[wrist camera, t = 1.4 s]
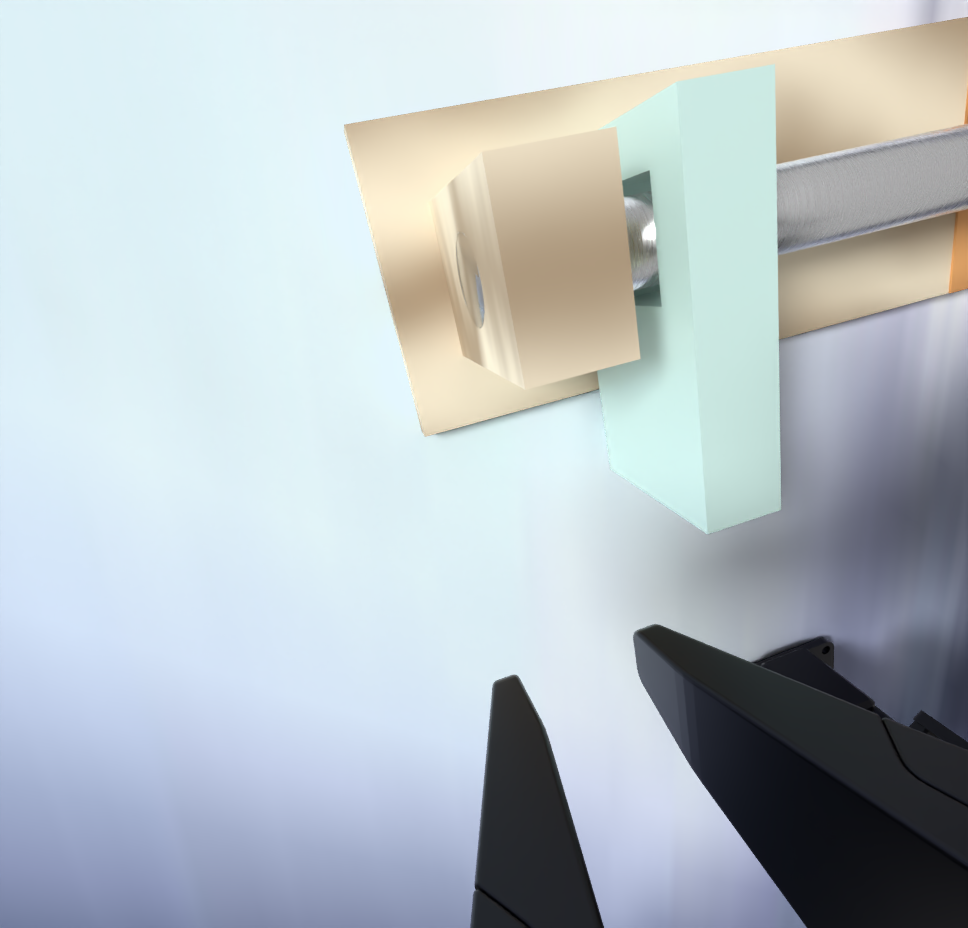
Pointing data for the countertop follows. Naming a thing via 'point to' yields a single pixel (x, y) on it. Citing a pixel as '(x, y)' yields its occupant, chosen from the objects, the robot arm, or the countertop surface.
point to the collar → (703, 304)
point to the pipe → (836, 196)
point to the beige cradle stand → (623, 218)
